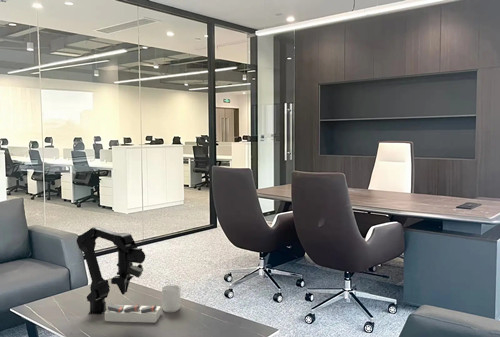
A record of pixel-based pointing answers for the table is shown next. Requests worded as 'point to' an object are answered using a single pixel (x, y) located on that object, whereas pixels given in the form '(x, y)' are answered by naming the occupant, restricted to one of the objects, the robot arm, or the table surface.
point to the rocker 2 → (131, 308)
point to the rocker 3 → (148, 309)
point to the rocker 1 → (115, 308)
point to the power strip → (133, 315)
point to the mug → (171, 298)
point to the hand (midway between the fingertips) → (124, 293)
